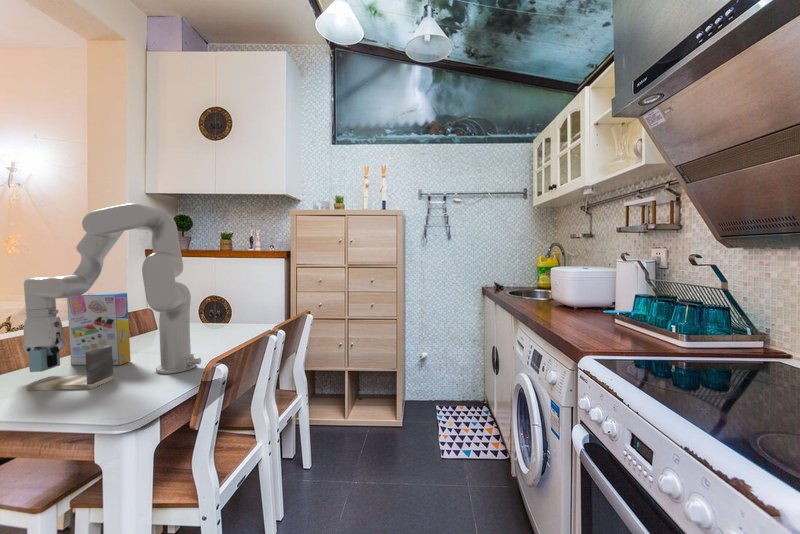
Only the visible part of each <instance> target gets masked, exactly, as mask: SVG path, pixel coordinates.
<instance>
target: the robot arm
mask: <svg viewBox="0 0 800 534" xmlns="http://www.w3.org/2000/svg"><path fill="white" fill-rule="evenodd" d="M176 223H177V222H176V221H175V219H174V218H173V217H172V216H171V215H170V214H169V213H167V212H165V211H163V210H162V209H161V210H160V209H158V208H155V207H153V206H148V205H145V204H144V205H143V204H140V203H125V204H120V205H115V206H109V207H105V208H100V209H96V210H92V211H90V212H88V213H87V214H86V215H84V217H83V218H82V220H81V227H82V229H83V230H84V231H85V234H84V235H83V237H82V238H81V240H80V241H79V242H78V243H77V244H76V247H75V248H76V252H77V253H79V254H80V258H81V259H80V262H79V264H78V266H77V268H76V269H75V271H73V273H72V274H70V275H62V276H54V277H48V276H46V277H43V276H42V277H30V278H26V279H25V280H24V282H23V292H24V293H23V294H24V304H25V305H24V306H25V316H26V317H25V319H24V325H23V344H22V345H21V348H22V349H24V350H25V351H26V352H28V351H32V350H35V349H39V348H42V347H46V348H47V351H48V355H49V356H47V366H48V367H52V366H55V365H57V354H58V353H59V354H60V351H61V349H63V348H65V347H66V345H67V344H66V342H65V333H64V327H63V323H62V320H61V318H60V316H59V315H57V314H58V313H59V309H57V303H56V300H57V299H59V300H60V299H67V298H68V297H73V296H78V295H82V294H86V293H87V292H88V291H89V290H90V289H91V288H92V287H93V285H94V284H95V282H97V279H98V278H99V277H100V276H101V273H102V271H103V266H104V260H105V258H106V256H108V253H109V252H110V251H111V250H112V248H113V247H114V246H115V244H116V243H117V242H118V240H119V238H120V237H121V236H122V235H123V233H124V232H125V231H129V230H130V231H131V230H141V231H149V232H150V233H151V246H152V253H151V254H149V255H148V256H147V257H146V258H145V259H144V260H143V262H142V267H141V272H142V280H143V286H144V287H143V288H144V293H145V300H146V302H147V305H148V306H149V308H151V310H153V311H155V312H158V313H159V315H158V324H159V325H158V328H159V329H158V330H159V331H158V332H159V348H160V349H159V351H160V353H159V354H160V355H159V356H160V365H159V366H157V367H156V368H155V372H156V373H157V374H162V375H165V374H166V375H167V374H169V375H170V374H176V373H183V372H187V371H189V370H192V369H194V368H196V366H197V365H201V363H202V357H195V356H194V355H195V353H192V351H191V349H192V348H191V328H190V327H191V321H190V317H191V316H190V315H191V314H190V313H191V312H190V311H191V310H190V309H191V302H192V301H191V299H192V296H191V292H190V288H189V287H188V286H187V285H185V284H184V283H181V282H179V281H176V278H178V277H179V276H180V275H181V274H182V273H183V271H184V263H183V262H184V261H183V256H182V251H181V244H180V238H179V231H178V226H177V224H176ZM52 347H53V350H52Z"/></svg>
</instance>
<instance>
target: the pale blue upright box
mask: <svg viewBox="0 0 800 534" xmlns="http://www.w3.org/2000/svg"><path fill="white" fill-rule="evenodd" d="M52 350H53V347H52ZM27 353H28V354H27V356H28V365H29V366H28V367H29V373H39V372H40V373H41V372H45V371H48V370H50V369H53V368H56V367H59V366H61V356H60V355H61V354H60V352H59V353H58V354H57V365H55V366H52V367H48V366H47V356H49V355H48V351H47V348H46V347H42V348H39V349H37V348H36V349H35V350H32V351H27Z"/></svg>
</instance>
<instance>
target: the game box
mask: <svg viewBox="0 0 800 534" xmlns="http://www.w3.org/2000/svg"><path fill="white" fill-rule="evenodd" d="M66 300H67V303H66V304H67V316H68V318H67V319H68V334H69V335H68V336H69V350H70V365H71V366H86V353H87V352H90V351H93V350H96V349H99V348H102V347H105V346H112V358H113V366H121V365H124V364H127V363H129V362H131V361H132V360H131V342H130V325H129V323H130V321H129V306H128V305H129V304H128V303H129V302H128V292H112V293H111V292H106V293H105V292H104V293H103V292H101V293H99V292H95V293H87V292H86V293H84V294H82V295H78V296H73V297H68V298H66Z"/></svg>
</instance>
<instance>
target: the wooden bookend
mask: <svg viewBox="0 0 800 534" xmlns="http://www.w3.org/2000/svg"><path fill="white" fill-rule="evenodd" d="M85 366H86V369H85V370H86V375H53V376H50V377H47V378H45V379H42V380H38V381H36V382H33V383H31V384H28V385H26V391H27V390H28V391H61V390H60V389H75V390H93V388H94V389H95V387H96V388H98V387H100V386H102V385H104V384H107V383H109V382H111V381H113V380H114V365H113V358H112V346H105V347H102V348H99V349H96V350H93V351H90V352H87V353H86V365H85ZM112 379H113V380H112ZM110 380H111V381H110ZM108 381H109V382H108ZM106 382H107V383H106ZM103 383H104V384H103ZM101 384H102V385H101ZM99 385H100V386H99ZM97 386H98V387H97Z"/></svg>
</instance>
